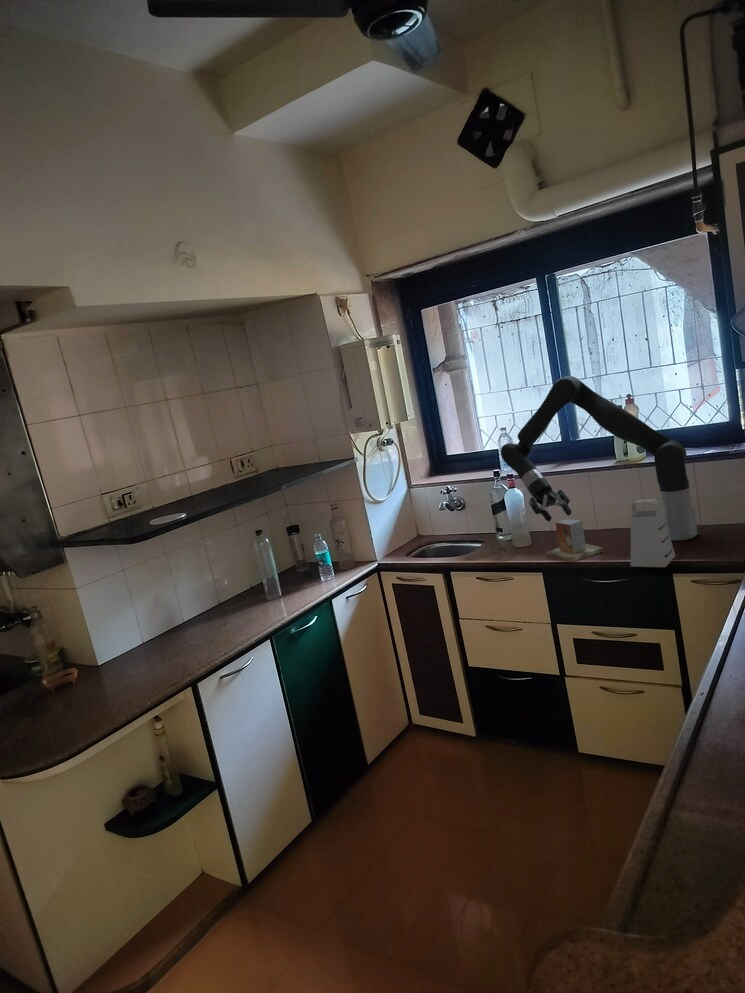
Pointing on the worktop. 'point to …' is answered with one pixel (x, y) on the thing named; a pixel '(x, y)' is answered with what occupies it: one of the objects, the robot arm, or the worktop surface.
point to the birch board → (574, 556)
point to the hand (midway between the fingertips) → (560, 517)
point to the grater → (650, 538)
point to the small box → (570, 535)
